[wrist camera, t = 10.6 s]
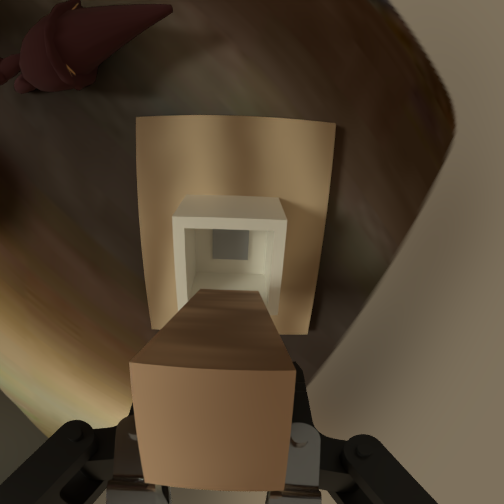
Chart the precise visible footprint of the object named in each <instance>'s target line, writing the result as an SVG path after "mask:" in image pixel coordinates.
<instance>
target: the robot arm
mask: <svg viewBox="0 0 504 504" xmlns="http://www.w3.org/2000/svg"><path fill="white" fill-rule="evenodd" d="M292 363H293V365H294V367H295V369H296V380H295V392H294V403H293V414H292V424H291V434H290V443H289V453H288V461H287V470H286V478H285V486H284V490H283V491H267V496H266V501H265V504H321V492H320V491H319V489H322V490H327V491H328V492H329V494H330V495H331V496H332V498H333V499H334V500H335V502H336V503H337V504H438V503H437V502H436V501H435V500H434V499H433V498H432V497H431V496H430V495H429V494H428V493H427V492H426V491H425V490H424V489H423V487H422V486H421V485H420V484H419V483H418V482H417V481H416V480H415V479H414V478H413V477H412V476H411V475H410V474H409V473H408V472H407V470H406V469H405V468H404V467H403V466H402V465H401V464H400V463H399V462H398V461H397V460H396V459H395V458H394V457H393V455H392V454H391V453H390V452H389V451H388V450H387V449H386V448H385V447H384V446H383V444H382V443H381V442H380V441H378V440H377V439H376V438H375V437H373V436H370V435H365V434H361V435H356V436H353V437H352V438H350V439H349V440H348V441H344V440H338V439H333V438H329V437H326V436H324V435H322V434H321V433H320V432H318V431H317V429H316V428H315V427H314V425H313V422H312V417H311V411H310V406H309V401H308V396H307V392H306V385H305V380H304V375H303V371H302V369H301V368H300V367H299V365H298V364H297V363H296V362H292ZM106 488H107V490H106V504H172V503H171V492H170V486H164V485H157V484H150V483H145V480H144V475H143V470H142V464H141V458H140V452H139V446H138V439H137V432H136V424H135V416H134V408H133V403H132V406H131V409H130V413H129V415H128V417H125V418H124V419H122V420H121V421H120V422H119V424H118V425H117V426H114V427H110V428H101V429H92V427H91V426H90V425H89V424H88V423H86V422H84V421H81V420H72V421H69V422H67V423H65V424H64V425H62V426H61V427H60V428H59V429H58V430H57V431H56V432H55V433H54V434H53V435H52V436H51V437H50V438H49V439H48V440H47V441H46V442H45V443H44V444H43V445H42V446H41V447H39V449H38V450H37V451H35V452H34V454H32V455H31V456H30V457H29V458H28V459H27V460H26V461H25V462H24V463H23V464H22V465H21V466H20V467H19V468H18V469H17V470H16V471H14V472H13V473H12V474H11V475H10V476H9V477H8V478H7V479H6V480H5V481H4V482H3V483H2V484H1V485H0V504H93V503H94V502H95V501H96V499H97V498H98V497H99V496H100V495H101V494H102V493H103V491H104V490H105V489H106Z"/></svg>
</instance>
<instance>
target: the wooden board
mask: <svg viewBox="0 0 504 504" xmlns="http://www.w3.org/2000/svg"><path fill="white" fill-rule="evenodd" d="M335 130H336V124H335V123H328V122H319V121H310V120H299V119H288V118H274V117H257V116H232V115H172V116H148V117H136V164H137V189H138V207H139V222H140V234H141V245H142V256H143V265H144V274H145V283H146V291H147V298H148V306H149V313H150V319H151V326H152V329H159V330H161V329H162V328H163V327H164V326H165V325H166V324H167V323H168V322H169V320H170V319H171V318H172V317H173V316H174V315H175V314H176V313H177V312H178V305H177V293H176V279H175V264H174V247H173V226H172V216H173V214H174V213H175V211H176V210H177V208H178V206H179V205H180V203H181V202H182V200H183V199H184V197H185V196H186V194H190V195H231V196H258V197H278V198H279V200H280V203H281V205H282V208H283V210H284V213H285V215H286V218H287V229H286V240H285V250H284V260H283V270H282V280H281V289H280V298H279V307H278V315H270V316H271V318H272V321H273V323H274V325H275V327H276V329H277V331H278V333H279V334H308V328H309V323H310V318H311V312H312V306H313V301H314V295H315V289H316V283H317V276H318V270H319V264H320V257H321V250H322V243H323V236H324V229H325V222H326V214H327V206H328V198H329V190H330V181H331V172H332V162H333V152H334V142H335Z"/></svg>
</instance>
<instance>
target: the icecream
mask: <svg viewBox="0 0 504 504" xmlns="http://www.w3.org/2000/svg"><path fill="white" fill-rule="evenodd" d="M172 12H173V8H172V6H171V5H166V4H134V5H112V6H99V7H89V8H84V7H82V6H81V1H80V0H69V1H66V2H62V3H59V4H56V5H55V6H54V7H53V9H52V11H51V13H50V14H48V15H47V16H44V17H43V18H41V19H40V20H39V21H38V22H37V23H36V24H35V25H34V26H33V27H32V28H31V29H30V30H29V31H28V33H27V34H26V36H25V37H24V39H23V41H22V46H21V52H20V53H19V54H15V55H14V54H12V55H11V56H8V57H6V58H4V59H3V58H1V57H0V85H3V84H4V83H6V82H7V81H8V80H9V79H11V78H12V77H14V76H16V75H17V74H18V73H19V72H20V71H21V72H22V74H20V75H19V76H18V78H17V79H16V80H15V84H14V88H15V91H16V92H18V93H21V94H23V93H27V92H30V91H33V90H35V89H36V88H37V89H39V90H41V91H47V92H54V91H62V90H67V89H73V88H74V89H76V90H79V91H80V90H81V89H82V88H83V87H86V86H88V85H91V84H93V83H94V82H95V80H96V76H97V70H98V66H99V65H100V64H101V63H102V62H103V61H105V60H106V59H107V58H108V57H110V56H111V55H112V54H113V53H115V52H116V51H117V50H118V49H120V48H121V47H122V46H124V45H125V44H126V43H128V42H129V41H130V40H132V39H133V38H135V37H136V36H137V35H139V34H140V33H142V32H143V31H144V30H146V29H147V28H149V27H150V26H152V25H154V24H155V23H157V22H158V21H160V20H161V19H163V18H165V17H166V16H168V15H169V14H171V13H172Z"/></svg>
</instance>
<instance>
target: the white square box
mask: <svg viewBox="0 0 504 504" xmlns="http://www.w3.org/2000/svg"><path fill="white" fill-rule="evenodd" d="M172 226H173V247H174V264H175V279H176V293H177V305H178V311H179V310H180V309H181V308H182V307H183V306H184V305H185V304H186V303H187V302H188V301H189V300H190V299H191V298H192V297H193V296H194V295H195V294H196V293H197V292H198V291H199V290H200V289H219V290H249V291H259V293H260V295H261V297H262V299H263V301H264V304H265V306H266V308H267V310H268V312H269V314H270V315H278V307H279V298H280V289H281V280H282V270H283V260H284V250H285V240H286V229H287V218H286V215H285V213H284V210H283V208H282V205H281V203H280V200H279V198H278V197H258V196H231V195H190V194H186V196H185V197H184V199H183V200H182V202H181V203H180V205H179V206H178V208H177V210H176V211H175V213H174V214H173V216H172Z"/></svg>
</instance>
